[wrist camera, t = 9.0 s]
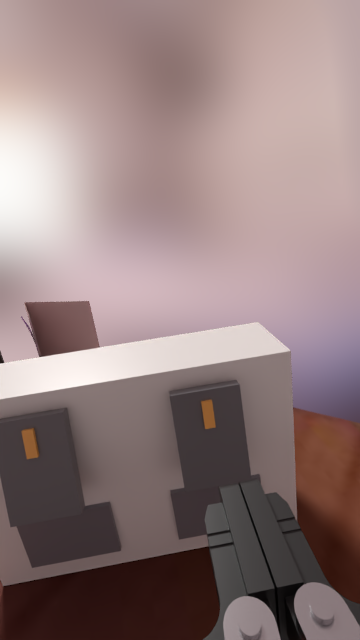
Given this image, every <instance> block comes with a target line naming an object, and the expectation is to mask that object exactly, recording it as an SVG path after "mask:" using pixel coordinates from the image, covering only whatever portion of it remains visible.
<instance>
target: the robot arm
mask: <svg viewBox="0 0 360 640" xmlns="http://www.w3.org/2000/svg"><path fill="white" fill-rule="evenodd" d="M218 489H219V497H220V503H217V504H211V505H208V507H207V511H206V515H205V525H206V532H207V538H208V545H209V551H210V557H211V562H212V567H213V573H214V578H215V584H216V589H217V594H218V600H219V605H220V613H219V618H218V621H217V623H216V625H215V627H214V629H213V630H212V631H211V633H210V634H209V635H208V636H207V637H205V638H204V639H203V640H360V604H358V603H355V602H352V601H350V600H348V599H346V598H345V597H343V596H342V595H340V594H339V593H338V592H337V591H336V590H335V589H334V588H333V587H332V586H331V585H330V584H329V582H328V581H327V579H326V578H325V576H324V574H323V572H322V570H321V568H320V566H319V564H318V562H317V560H316V558H315V556H314V554H313V552H312V550H311V548H310V546H309V544H308V542H307V540H306V538H305V536H304V534H303V532H302V531H301V528H300V526H299V524H298V522H297V520H296V519H295V516H294V514H293V512H292V510H291V508H290V506H289V504H288V503H287V502H286V501H285V500H284V499H283V498H282V497H281V496H280V495H279V494H278V493H277V492H273V493H268V494H265V493H264V490H263V488H262V486H261V483H260V481H259V480H258V479H255V480H249V481H244V482H239V483H234V484H229V485H223V486H218Z"/></svg>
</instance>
